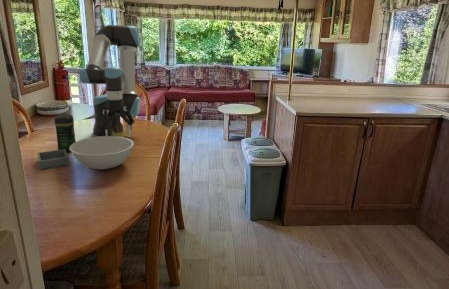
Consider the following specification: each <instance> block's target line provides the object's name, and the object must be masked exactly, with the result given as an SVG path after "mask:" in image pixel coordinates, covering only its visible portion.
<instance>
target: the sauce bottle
mask: <svg viewBox="0 0 449 289" xmlns="http://www.w3.org/2000/svg"><path fill="white" fill-rule="evenodd" d="M124 134H125V133H124V126H123V124H122V122H121V116H120V113H117V114H115V116H114V118H113V119H112V125H111V135H110V136H118V137H124V136H125V135H124Z"/></svg>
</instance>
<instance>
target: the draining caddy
mask: <svg viewBox="0 0 449 289" xmlns="http://www.w3.org/2000/svg"><path fill="white" fill-rule="evenodd" d="M37 159H38V164H39V168H40V169H39V170H40V171H44V170H49V169H57V168H64V167H68V166H69V167H70V158H69V155H68V152H66V151H65V149H62V150H58V149H55V150H48V151H41V152H37Z"/></svg>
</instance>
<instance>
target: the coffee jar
mask: <svg viewBox="0 0 449 289" xmlns="http://www.w3.org/2000/svg"><path fill="white" fill-rule="evenodd" d="M74 121H75V120H74V116H73V115H72V114H70V113H61V114H60V115H58V116H56V117H55V118H54V125H55V130H56V132H55V133H56V141H57V143H56V144H57V150H62V149H65V151H66V153H70V152H72V151H70V149H69V147H70V146H71V145H72V144H73V143H75V142H77V141H76V134H75V132H76V131H75V122H74Z"/></svg>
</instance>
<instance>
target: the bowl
mask: <svg viewBox="0 0 449 289" xmlns="http://www.w3.org/2000/svg"><path fill="white" fill-rule="evenodd" d="M134 144H135V142H134V141H133V140H132V139H130V138H128V137H118V136H111V135H110V136H92V137H88V138H87V137H86V138H83V139H80V140H77V141H76V142H75V143H73V144H72V145H71V146H70V147H69V149H70V151H72V155H73V157H74V158H75V160H77V161H78V162H79V163H80V164H81V165H83V166H84V167H86V168H88V169H92V170H109V169H113V168H115V167H119V166H120V165H122V164H123V163H124V162H125V161H126V160H127V159H128V157H129V156H130V155H131V151H132V148H133V146H134Z"/></svg>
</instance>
